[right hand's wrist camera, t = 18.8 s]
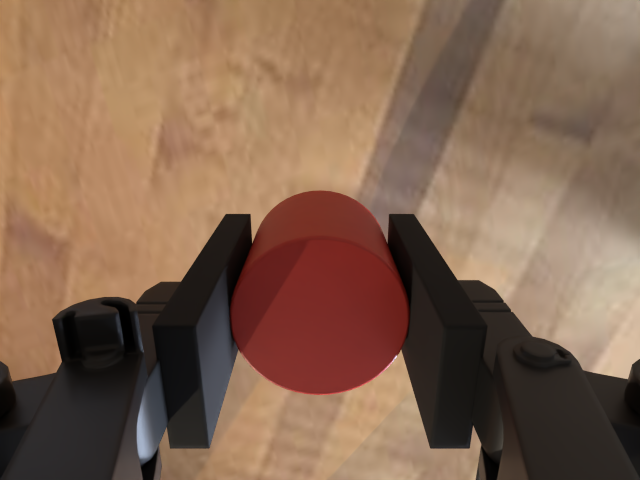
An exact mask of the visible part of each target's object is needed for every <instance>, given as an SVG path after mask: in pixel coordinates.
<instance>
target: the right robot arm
mask: <svg viewBox="0 0 640 480" xmlns="http://www.w3.org/2000/svg"><path fill="white" fill-rule="evenodd" d="M251 246H252V234H251V216H250V214H226V215H225V216H224V218H223V219H222V221H221V222H220V224H219V225H218V227H217V228H216V230H215V231H214V233H213V234H212V236H211V237H210V239H209V240H208V242H207V243H206V245H205V246H204V248H203V249H202V251H201V252H200V254H199V255H198V257H197V258H196V260H195V262H194V263H193V265H192V266H191V268H190V269H189V271H188V272H187V274H186V275H185V277H184V278H183V280H182V281H181V282H160V283H158V284H157V285H155V286H153V287H151V288H150V289H148V290H146V291H145V292H144V293H143V295H142V296H141V297H140V298H139V300H138V301H137V302H136V304H135V303H134V302H132V301H131V300H130V299H125V298H121V297H102V298H96V299H90V300H86V301H83V302H80V303H77V304H74V305H72V306H70V307H68V308H66V309H64V310H62V311H61V312H59V313H58V314H57V315H56V316H55V317H54V318H53V319H52V321H53V325H54V330H55V334H56V338H57V342H58V347H59V351H60V355H61V359H62V363H61V365H60V367H59V369H58V370H57V372H56V373H53V374H49V375H44V376H38V377H33V378H28V379H23V380H17V381H12V379H11V376H10V373H9V369H8V367H7V366H6V365H5V364H4V363H2V362H1V361H0V480H160V475H161V468H162V464H161V457H160V450H159V443H160V441H161V439H162V436H163V434H164V432H165V429H166V427H167V431H168V437H169V444H170V448H210V444H211V441H212V437H213V434H214V431H215V427H216V424H217V420H218V417H219V414H220V410H221V407H222V403H223V400H224V396H225V393H226V390H227V386H228V383H229V379H230V376H231V373H232V369H233V366H234V362H235V359H236V356H237V352H238V347H237V345H236V343H235V340H234V338H233V334H232V331H231V324H230V304H231V298H232V295H233V292H234V289H235V286H236V283H237V281H238V278H239V276H240V273H241V271H242V268H243V266H244V263H245V261H246V258H247V256H248V253H249V251H250V248H251ZM388 247H389V249H390V252H391V254H392V257H393V259H394V262H395V264H396V267H397V269H398V272H399V274H400V277H401V279H402V282H403V284H404V287H405V289H406V292H407V296H408V300H409V306H410V321H409V329H408V333H407V336H406V339H405V342H404V344H403V346H402V348H401V350H402V353H403V357H404V360H405V364H406V367H407V370H408V374H409V377H410V381H411V384H412V387H413V391H414V394H415V398H416V401H417V404H418V408H419V411H420V415H421V418H422V421H423V425H424V428H425V432H426V435H427V438H428V442H429V445H430V448H470V442H471V435H472V428H473V426H474V428H475V430H476V432H477V435H478V437H479V439H480V442H481V450H480V457H479V463H478V469H477V475H476V480H640V359H639V360H638V361H636V362H635V363H634V364H632V367H631V371H630V374H629V378H628V379H623V378H618V377H612V376H607V375H602V374H597V373H592V372H588V371H584V370H582V368H581V366H580V364H579V362H578V361H577V359H576V358H575V357H574V356H573V355H572V354H571V352H569V351H567V350H566V349H564V348H563V347H561V346H560V345H558V344H555V343H553V342H550V341H548V340H545V339H541V338H536V337H532V335H531V334H530V333H529V332H528V330H527V329H526V328H525V327H524V326H523V324H522V323H521V322H520V321H519V319H518V318H517V317H516V316H515V314H514V313H513V312H511V309H510V308H509V307H508V306H507V304H506V303H504V302H503V299H502V298H501V297H500V296H499V294H498V293H497V292H496V291H495V290H494V289H493V288H491V287H489V286H488V285H486V284H484V283H483V282H481V281H479V280H457V279H456V277H455V276H454V274H453V273H452V271H451V270H450V268H449V267H448V265H447V264H446V262H445V261H444V259H443V258H442V256H441V254H440V253H439V251H438V250H437V248H436V247H435V245H434V244H433V242H432V241H431V239H430V238H429V236H428V235H427V233H426V232H425V230H424V229H423V227H422V226H421V224H420V223H419V221H418V220H417V218H416V217H415V215H414V214H389V228H388Z"/></svg>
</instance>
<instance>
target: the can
mask: <svg viewBox="0 0 640 480" xmlns="http://www.w3.org/2000/svg"><path fill="white" fill-rule="evenodd" d="M409 321H410V306H409V300H408V296H407V292H406V289H405V287H404V284H403V282H402V279H401V277H400V274H399V272H398V269H397V267H396V264H395V262H394V259H393V257H392V254H391V252H390V249H389V247H388V244H387V242H386V239H385V237H384V234H383V232H382V229H381V227H380V225H379V223H378V222H377V220H376V218H375V217H374V216H373V215H372V214H371V212H370V211H369V210H368V209H367V208H365V207H364V206H363V205H362V204H360V203H359V202H357V201H356V200H354V199H352V198H350V197H348V196H346V195H343V194H340V193H336V192H331V191H309V192H303V193H300V194H297V195H294V196H292V197H290V198H287V199H286V200H284V201H282V202H281V203H279V204H278V205H277V206H275V207H274V208H273V209H272V210H271V211H270V212H269V213H268V214H267V215H266V217H265V218H264V220H263V221H262V223H261V225H260V227H259V229H258V231H257V233H256V236H255V238H254V241H253V243H252V246H251V248H250V251H249V253H248V256H247V258H246V261H245V263H244V266H243V268H242V271H241V273H240V276H239V278H238V281H237V283H236V286H235V289H234V292H233V295H232V298H231V304H230V324H231V331H232V334H233V338H234V340H235V343H236V345H237V347H238V349H239V351H240V353H241V354H242V356H243V357H244V359H245V360H246V361H247V362H248V364H249V365H250V366H251V367H252V368H253V369H254V370H255V371H256V372H257V373H259V374H260V375H261V376H263V377H264V378H265V379H267V380H268V381H270V382H272V383H274V384H275V385H278V386H280V387H282V388H285V389H288V390H291V391H294V392H299V393H304V394H314V395H327V394H335V393H341V392H345V391H349V390H352V389H355V388H357V387H360V386H362V385H364V384H366V383H368V382H370V381H371V380H373V379H374V378H376V377H377V376H379V375H380V374H381V373H382V372H383V371H384V370H386V369H387V368H388V367H389V365H390V364H391V363H392V362H393V361H394V360H395V358H396V357H397V355H398V354H399V352H400V350H401V348H402V346H403V344H404V342H405V339H406V336H407V333H408V329H409Z"/></svg>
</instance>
